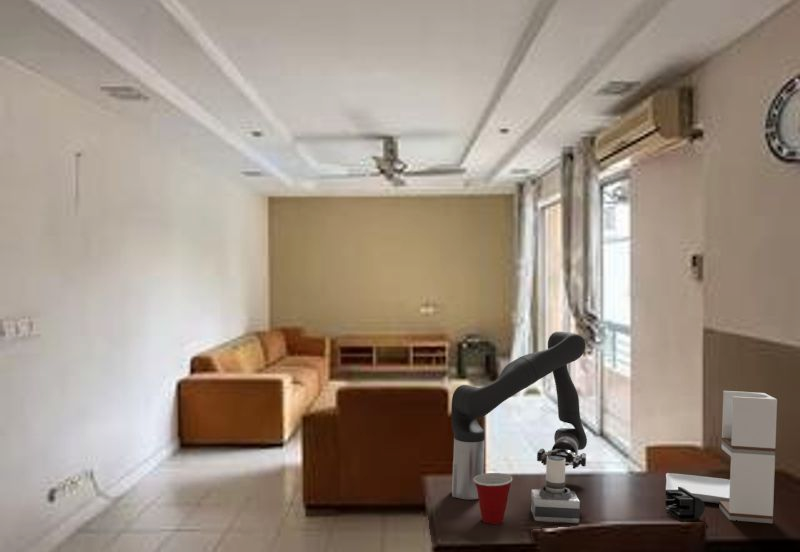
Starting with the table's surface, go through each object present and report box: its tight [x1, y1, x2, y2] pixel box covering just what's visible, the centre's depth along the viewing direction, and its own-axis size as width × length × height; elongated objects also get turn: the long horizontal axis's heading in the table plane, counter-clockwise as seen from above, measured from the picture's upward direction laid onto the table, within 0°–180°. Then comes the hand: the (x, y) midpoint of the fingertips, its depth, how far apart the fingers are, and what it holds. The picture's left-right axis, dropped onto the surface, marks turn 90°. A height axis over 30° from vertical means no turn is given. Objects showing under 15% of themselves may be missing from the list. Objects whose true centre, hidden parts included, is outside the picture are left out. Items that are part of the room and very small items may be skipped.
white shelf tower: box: [718, 390, 778, 524], centre depth 209 cm, size 11×11×35 cm
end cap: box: [664, 487, 706, 521], centre depth 208 cm, size 10×7×7 cm
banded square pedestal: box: [530, 485, 581, 524], centre depth 203 cm, size 12×9×8 cm
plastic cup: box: [473, 472, 514, 525], centre depth 198 cm, size 11×11×12 cm
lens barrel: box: [545, 456, 566, 494], centre depth 203 cm, size 5×5×10 cm
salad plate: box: [665, 472, 730, 504], centre depth 228 cm, size 21×21×3 cm
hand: (559, 463), depth 210 cm, fingers open, 8 cm apart
